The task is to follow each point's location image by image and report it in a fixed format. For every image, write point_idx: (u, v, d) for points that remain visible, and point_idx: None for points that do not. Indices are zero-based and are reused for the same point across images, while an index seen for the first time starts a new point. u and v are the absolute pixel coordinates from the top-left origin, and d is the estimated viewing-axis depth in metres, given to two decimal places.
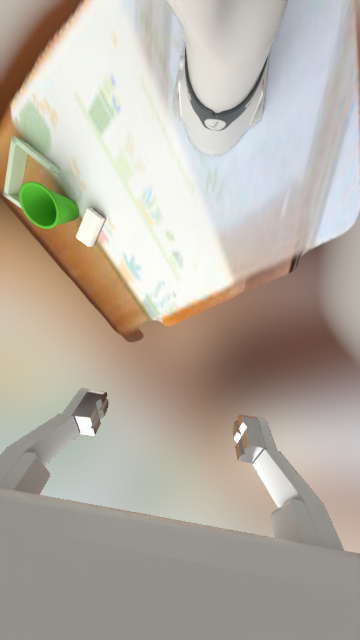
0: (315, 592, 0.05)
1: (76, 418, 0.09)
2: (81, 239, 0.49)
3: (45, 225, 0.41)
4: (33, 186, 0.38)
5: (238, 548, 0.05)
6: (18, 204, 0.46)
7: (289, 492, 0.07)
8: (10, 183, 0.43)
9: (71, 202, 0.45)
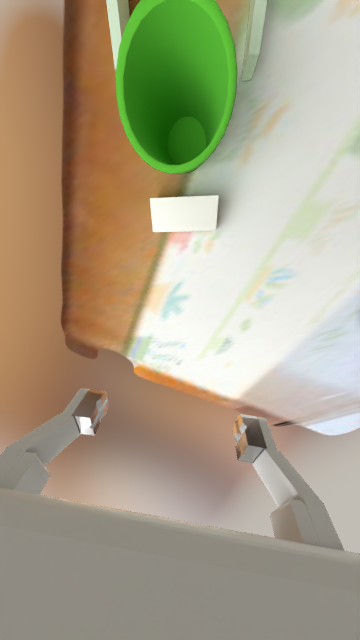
0: (315, 592, 0.05)
1: (76, 418, 0.09)
2: (155, 211, 0.23)
3: (136, 136, 0.14)
4: (214, 39, 0.12)
5: (238, 548, 0.05)
6: None
7: (289, 492, 0.07)
8: None
9: None
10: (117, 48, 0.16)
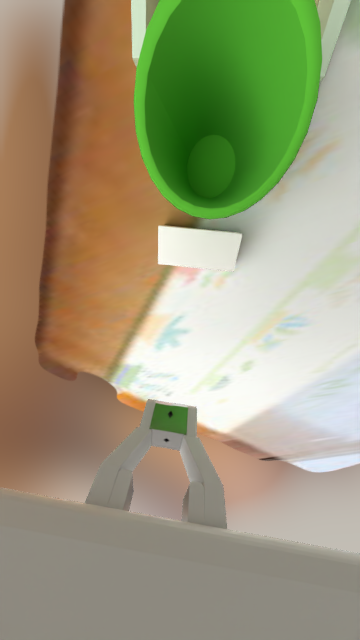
0: (315, 592, 0.05)
1: (153, 431, 0.08)
2: (163, 242, 0.19)
3: (156, 160, 0.10)
4: (290, 48, 0.08)
5: (238, 548, 0.05)
6: None
7: (197, 476, 0.07)
8: None
9: None
10: (138, 30, 0.12)
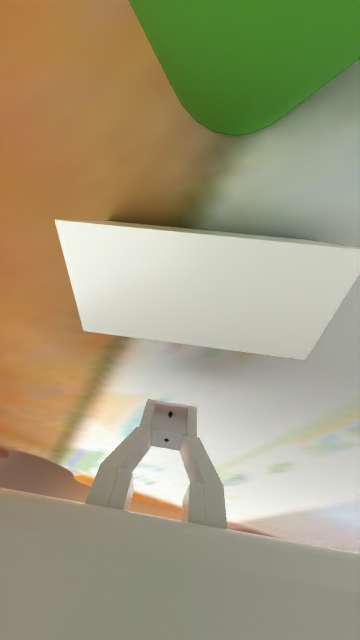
0: (315, 592, 0.05)
1: (153, 431, 0.08)
2: (85, 274, 0.06)
3: None
4: None
5: (238, 548, 0.05)
6: None
7: (197, 476, 0.07)
8: None
9: None
10: None
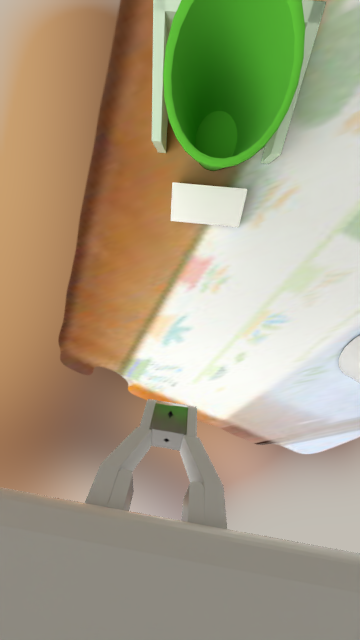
0: (315, 592, 0.05)
1: (153, 431, 0.08)
2: (176, 198, 0.21)
3: (178, 122, 0.13)
4: (280, 21, 0.10)
5: (238, 548, 0.05)
6: (157, 65, 0.16)
7: (197, 476, 0.07)
8: None
9: None
10: (156, 125, 0.18)
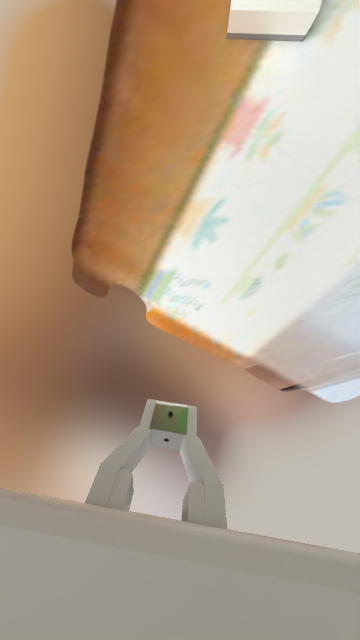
0: (315, 592, 0.05)
1: (153, 431, 0.08)
2: None
3: None
4: None
5: (238, 548, 0.05)
6: None
7: (197, 476, 0.07)
8: None
9: None
10: None
